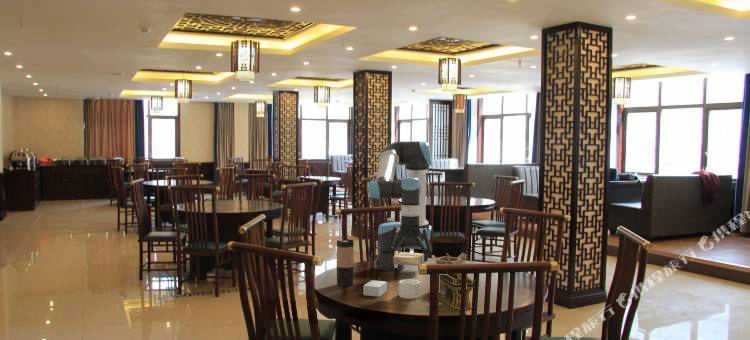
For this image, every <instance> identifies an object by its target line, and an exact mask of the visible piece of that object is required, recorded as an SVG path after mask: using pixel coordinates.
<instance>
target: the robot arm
mask: <svg viewBox="0 0 750 340" xmlns="http://www.w3.org/2000/svg"><path fill="white" fill-rule="evenodd" d="M378 161H379V166H378V169H377V173H376V178H375V180H370V181H369V183H368V196H369V197H370V198H372V199H397V200H399V199H400V200H401V202H400V203H401V204H400V212H401V213H400V214H401V216H400V221H390V222H384V223H381V224H380V225H379V226H378V230H377V231H378V233H377V235H378V237H377V239H378V240H377V241H378V243H377V244H378V246H377V248H378V250H377V251H378V252H377V253H378V254H377V256H376V259H375V261H374V269H375V270H378V271H382V272H399V271H400V272H401V271H403V270H404V269H405V265H400V264H393V256H395V255H397V254H398V253H400V252H402V249H419V250H421V251H422V252H423V254H422V264H425V265H426V262H428V260H429V254H430V253H432V252H433V248H432V245H431V241H430V240H431V235H432V234H431V233H432V225H430V224H429V222H430V221H428V220H427V219H426V218H427V217H426V214H427V213H426V212H427V211H426V209H427V208H426V206H427V204H426V201H427V200H426V199H427V197H426V195H427V193H426V192H427V189H426V186H427V185H426V184H427V183H426V180H427V179H426V178H427V172H428V171H429V169H430V167H431V166H432V165H433V164H432V163H433V162H432V153H431V146H430V144H429V142H427V141H419V140H418V141H417V140H416V141H415V140H414V141H395V142H393V143H390V144H389V145H387V146H386V147H384V148H383V149H382V151H381V152H380V154H379V160H378ZM398 166H404V167H405V170H406V171H407V173H408V175H407V177H402V178H401V180H394V179H395V178H394V176H395V172H396V169H397V168H396V167H398ZM422 264H421V265H422Z"/></svg>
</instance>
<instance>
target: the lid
mask: <svg viewBox="0 0 750 340" xmlns="http://www.w3.org/2000/svg"><path fill="white" fill-rule="evenodd" d="M423 253H424V252H423ZM423 253H421V252H408V251H407V252H406V251H405V252H404V251H401V252H400V253H398V254H397V255H395V256H393V264H400V265H404V266H414V267H415V266H418V267H420V266H422V254H423ZM419 265H420V266H419Z"/></svg>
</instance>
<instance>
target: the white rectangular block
mask: <svg viewBox="0 0 750 340" xmlns="http://www.w3.org/2000/svg"><path fill="white" fill-rule="evenodd" d="M387 289H388V281H384V280H374V279H372V280H369V281H368V282H367V283H365V284H364V285H363V296H370V297H379V298H380V297H381V296H383V294H385V293H386V292H387V291H388V290H387Z"/></svg>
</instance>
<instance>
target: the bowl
mask: <svg viewBox="0 0 750 340" xmlns="http://www.w3.org/2000/svg"><path fill="white" fill-rule="evenodd" d="M398 295H399V296H398V297H399V298H401V299H406V300H416V299H419V298H420V297H421V281H420V280H418V279H410V278H408V279H401V280H399V281H398Z"/></svg>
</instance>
